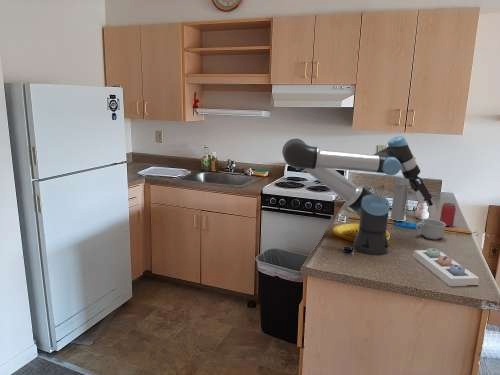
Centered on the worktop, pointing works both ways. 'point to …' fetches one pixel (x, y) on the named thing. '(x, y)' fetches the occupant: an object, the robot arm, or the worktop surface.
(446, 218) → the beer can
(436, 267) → the button panel
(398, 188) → the water bottle
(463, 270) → the two pip button
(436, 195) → the worktop surface
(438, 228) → the teacup
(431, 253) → the one pip button
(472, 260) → the worktop surface
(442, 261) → the three pip button
